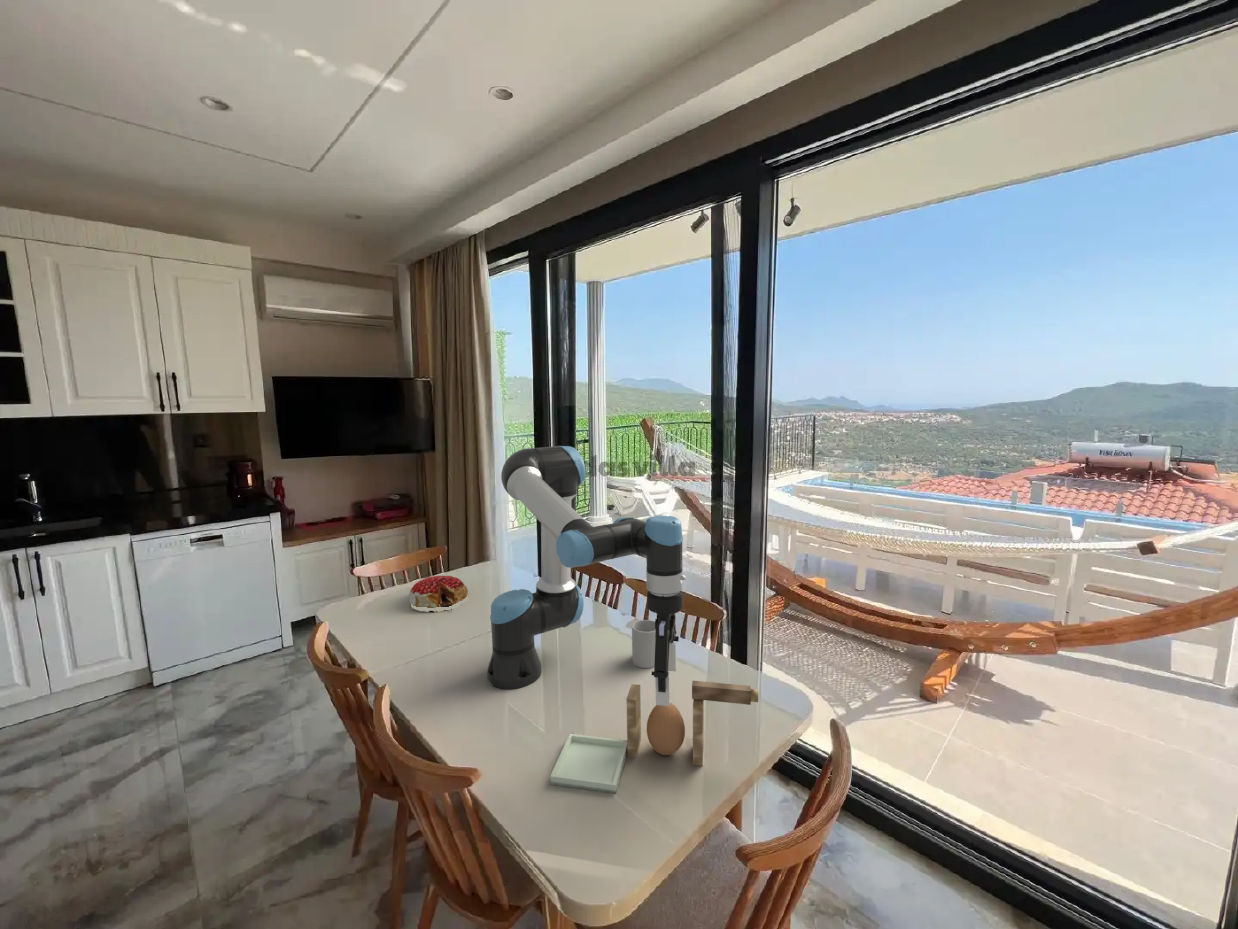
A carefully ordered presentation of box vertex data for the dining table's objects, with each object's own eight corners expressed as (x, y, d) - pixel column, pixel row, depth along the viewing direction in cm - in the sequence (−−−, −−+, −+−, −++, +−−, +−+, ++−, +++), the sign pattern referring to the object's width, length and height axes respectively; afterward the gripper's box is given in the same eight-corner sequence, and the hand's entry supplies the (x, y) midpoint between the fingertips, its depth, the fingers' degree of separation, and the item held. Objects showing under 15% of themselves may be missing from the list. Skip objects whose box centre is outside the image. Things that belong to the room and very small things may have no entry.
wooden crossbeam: (691, 699, 106) (691, 686, 106) (692, 693, 109) (692, 680, 108) (758, 706, 104) (758, 692, 103) (757, 699, 106) (757, 686, 106)
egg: (691, 760, 107) (691, 711, 106) (654, 769, 105) (654, 718, 104) (676, 736, 115) (675, 690, 114) (641, 743, 113) (641, 696, 112)
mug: (643, 672, 143) (642, 635, 142) (626, 659, 150) (626, 624, 149) (676, 659, 150) (676, 624, 149) (658, 648, 157) (658, 614, 156)
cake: (442, 620, 182) (441, 593, 180) (396, 608, 193) (394, 583, 192) (487, 597, 202) (485, 573, 201) (442, 588, 213) (441, 565, 212)
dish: (550, 784, 101) (550, 776, 101) (570, 741, 114) (570, 733, 114) (615, 793, 99) (615, 785, 98) (628, 748, 112) (628, 740, 111)
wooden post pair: (627, 756, 109) (626, 699, 107) (632, 738, 115) (631, 684, 113) (702, 766, 106) (702, 707, 104) (703, 747, 112) (703, 690, 110)
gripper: (677, 615, 93) (679, 723, 95) (687, 572, 117) (688, 659, 120) (637, 612, 95) (639, 719, 97) (655, 571, 119) (656, 657, 121)
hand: (666, 686), depth 108 cm, fingers open, 13 cm apart
